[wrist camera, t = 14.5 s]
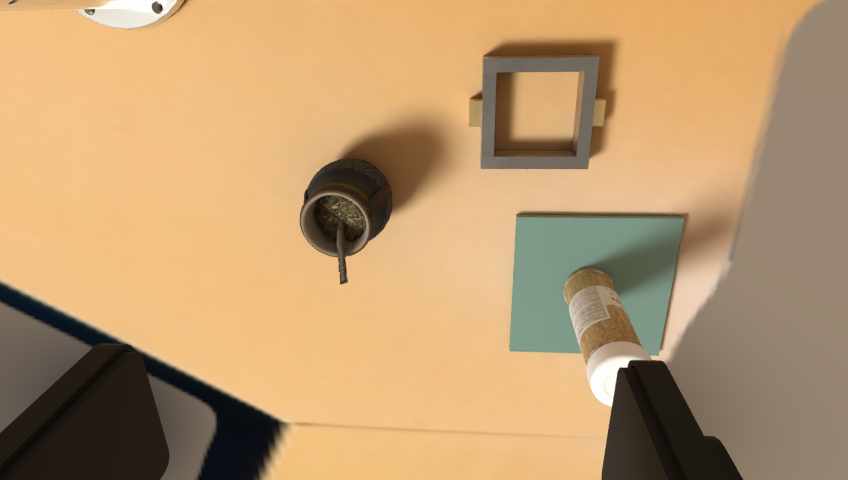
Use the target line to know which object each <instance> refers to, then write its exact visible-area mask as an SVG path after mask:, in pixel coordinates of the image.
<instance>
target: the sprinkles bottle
mask: <svg viewBox="0 0 848 480" xmlns="http://www.w3.org/2000/svg"><path fill="white" fill-rule="evenodd" d="M563 295H564V299H565V301H566V302H567V304H568V307H569V312H570V316H571V320H572V323H573V326H574V330H575V333H576V337H577V340H578V343H579V346H580V349H581V352H582V353H583V356H584V359H585V363H586V366H587V367H586V373H587V377H588V381H589V384H590V387H591V389H592V391H593V393H594V395H595V396H596V397H597V398H598V399H599V400H600V401H601V402H603V403H604V404H606V405H609V406H612V404H613V397H614V391H615V384H616V378H617V372H618V369H619V368H620V367H627V366H628V363H629V361H630V360H652V359H651V357H650V355H649V354H648V352H647V351H646V350H645V349H644V348H643V347H642V345H641V343H640V341H639V339H638V336H637V335H636V332H635V329H634V327H633V325H632V323H631V321H630V318H629V316H628V314H627V312H626V310H625V308H624V306H623V304H622V302H621V300H620V298H619V296H618V295H617V293H616V291H615V289H614V285H613V281H612V280H611V278H610V277H609V276H608V275H607V274H606V273H604V272H603V271H601V270H598V269H594V268H588V269H582V270H578V271H576V272H575V273H573V274H572V275H571V276H570V277H569V278H568V279H567V280H566V282H565V284H564V287H563Z"/></svg>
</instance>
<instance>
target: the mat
mask: <svg viewBox="0 0 848 480" xmlns="http://www.w3.org/2000/svg"><path fill="white" fill-rule="evenodd" d="M683 225H684V218H683V217H682V216H601V215H517V218H516V236H515V255H514V274H513V293H512V312H511V331H510V351H520V352H553V353H582V352H581V349H580V346H579V343H578V340H577V337H576V333H575V330H574V326H573V323H572V320H571V316H570V312H569V307H568V304H567V302H566V301H565V299H564V295H563V287H564V284H565V282H566V280H567V279H568V278H569V277H570V276H571V275H572V274H573V273H575V272H576V271H578V270H582V269H588V268H594V269H598V270H601V271H603V272H604V273H606V274H607V275H608V276H609V277H610V278H611V280H612V281H613V285H614V289H615V291H616V293H617V295H618V296H619V298H620V300H621V302H622V304H623V306H624V308H625V310H626V312H627V314H628V316H629V318H630V321H631V323H632V325H633V327H634V329H635V332H636V335H637V336H638V339H639V341H640V343H641V345H642V347H643V348H644V349H645V350H646V351H647V352H648V354H649V355H654V356H659V351H660V346H661V341H662V335H663V330H664V325H665V319H666V314H667V309H668V304H669V298H670V293H671V288H672V283H673V277H674V272H675V267H676V262H677V256H678V251H679V246H680V240H681V235H682V230H683Z"/></svg>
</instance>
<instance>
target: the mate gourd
mask: <svg viewBox="0 0 848 480" xmlns="http://www.w3.org/2000/svg"><path fill="white" fill-rule="evenodd" d="M391 210H392V191H391V189H390V185H389V183H388V181H387V179H386V178H385V176H384V175H383V174H382V173H380V172H379V170H378V169H377V168H376V167H374V166H373V165H372V164H370V163H368V162H366V161H363V160H359V159H343V160H338V161H334V162H332V163H330V164H328V165H326V166H324V167H323V168H321V170H320V171H319V172H317V173H316V175H315V176H314V177H313V179H312V180H311V182H310V184H309V186H308V189H307V190H306V191H305V194H304V205H303V206H302V209H301V214H300V226H301V230H302V232H303V235H304V237H305V238H306V240H307V241H308V242H309V243H310V244H311V245H312V246H313V247H314V248H315V249H317V250H318V251H319V252H321V253H323V254H326V255H329V256H332V257H338V261H339V272H340V284H344V283H347V282H348V280H347V276H346V274H347V271H346V262H345V257H346V256H350V255H353V254H355V253H357V252H359V251H361V250H362V249H363V248H364V247H365V245H367V243H368V241H370V240H372V239H373V238H374V237H376V236H377V235H378V234H379V233H380V232H381V231H382V230H383V229H384V227H385V225H386V224H387V222H388V221H389V219H390V215H391Z"/></svg>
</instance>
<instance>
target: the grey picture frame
mask: <svg viewBox="0 0 848 480" xmlns="http://www.w3.org/2000/svg"><path fill="white" fill-rule="evenodd" d="M599 61H600V57H598V56H596V55H528V56H483V77H482V99H470V103H469V127H481V169H588V164H589V154H590V145H591V136H592V126H603V124H604V115H605V106H606V100H605V99H604V98H596V89H597V80H598V70H599ZM497 72H579V81H578V92H577V103H576V113H575V124H574V135H573V146H572V150H494V135H495V104H496V74H497Z"/></svg>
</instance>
